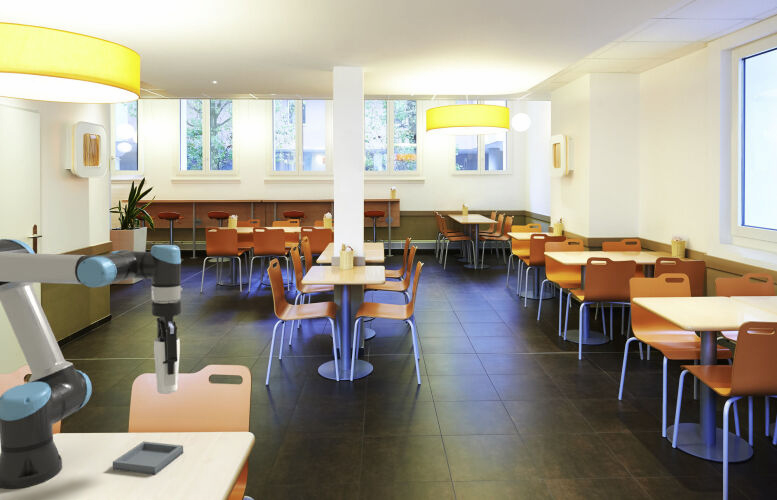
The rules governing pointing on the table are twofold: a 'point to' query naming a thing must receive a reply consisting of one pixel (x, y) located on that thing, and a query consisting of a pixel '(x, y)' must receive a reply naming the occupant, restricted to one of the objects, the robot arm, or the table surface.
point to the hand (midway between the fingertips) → (167, 381)
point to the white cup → (159, 366)
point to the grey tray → (148, 457)
